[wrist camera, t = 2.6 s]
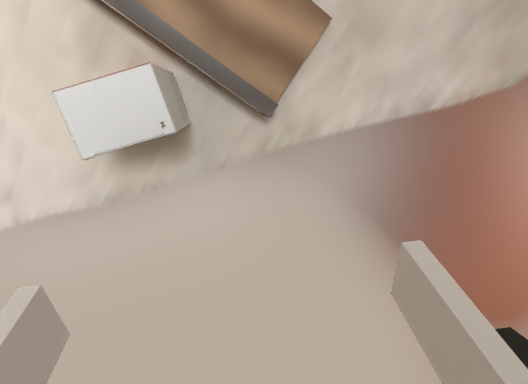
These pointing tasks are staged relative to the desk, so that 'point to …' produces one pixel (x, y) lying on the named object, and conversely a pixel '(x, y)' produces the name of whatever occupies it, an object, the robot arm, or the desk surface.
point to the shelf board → (235, 40)
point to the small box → (122, 109)
